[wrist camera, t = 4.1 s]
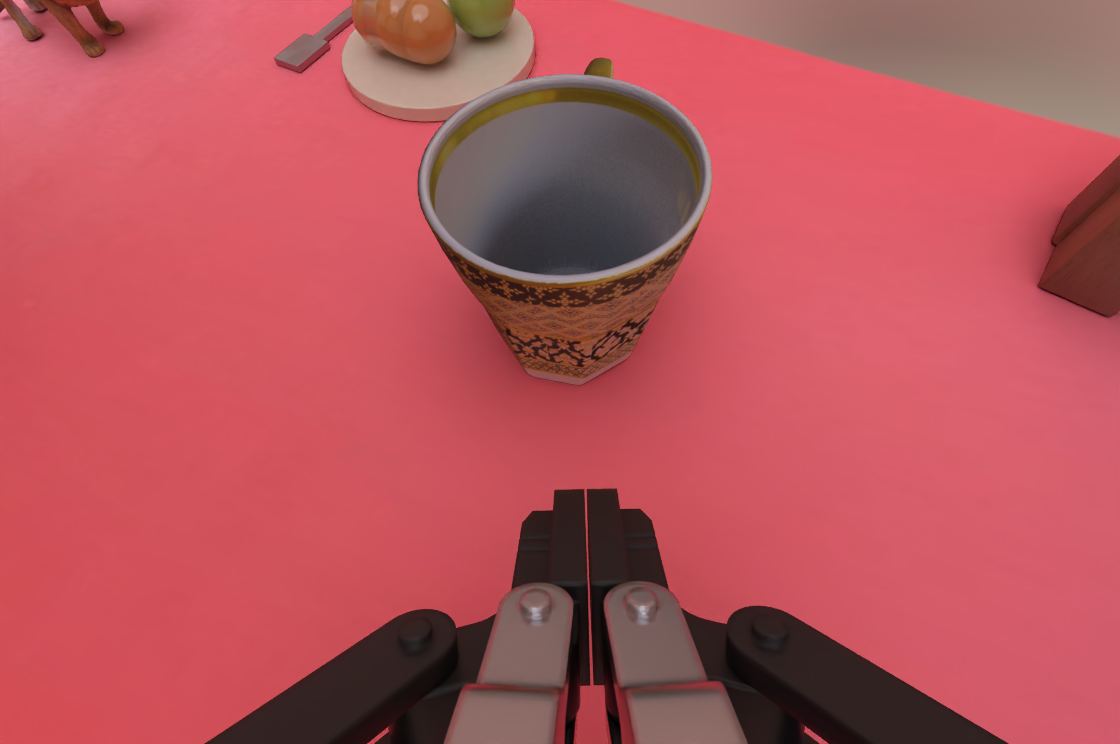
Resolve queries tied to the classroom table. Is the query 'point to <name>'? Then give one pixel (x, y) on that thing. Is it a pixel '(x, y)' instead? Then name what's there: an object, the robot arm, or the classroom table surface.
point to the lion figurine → (66, 20)
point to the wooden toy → (1089, 247)
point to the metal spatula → (312, 44)
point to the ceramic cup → (566, 212)
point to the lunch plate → (439, 80)
